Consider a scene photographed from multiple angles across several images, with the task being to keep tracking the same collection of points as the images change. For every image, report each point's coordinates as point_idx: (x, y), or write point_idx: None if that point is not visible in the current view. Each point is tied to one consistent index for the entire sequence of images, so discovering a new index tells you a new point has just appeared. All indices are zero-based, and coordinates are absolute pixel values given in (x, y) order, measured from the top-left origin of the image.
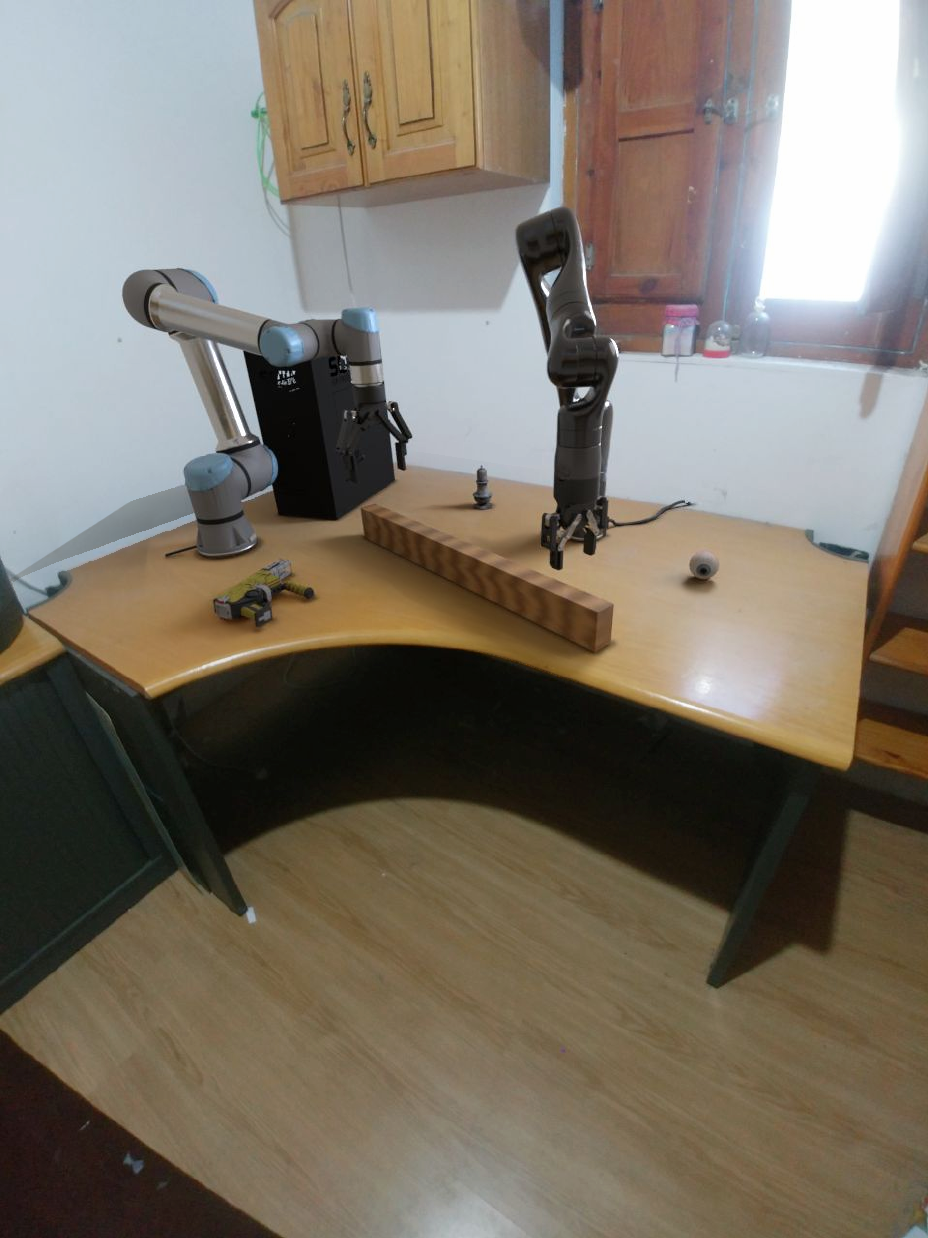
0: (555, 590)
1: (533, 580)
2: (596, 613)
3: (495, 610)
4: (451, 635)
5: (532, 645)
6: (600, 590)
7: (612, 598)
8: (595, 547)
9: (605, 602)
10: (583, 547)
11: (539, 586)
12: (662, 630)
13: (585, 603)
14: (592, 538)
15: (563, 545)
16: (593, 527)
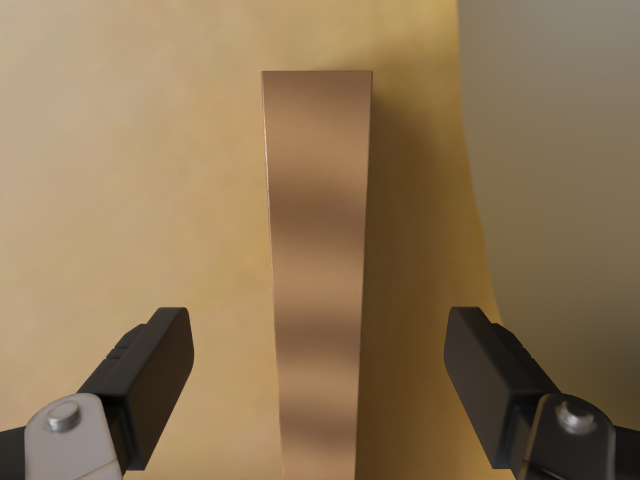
0: (342, 305)
1: (338, 396)
2: (371, 77)
3: (371, 393)
4: None
5: (439, 228)
6: (85, 294)
7: (88, 244)
8: (129, 336)
9: (279, 106)
10: (183, 385)
11: (358, 358)
12: (94, 7)
13: (346, 160)
14: (136, 390)
15: (543, 424)
16: (112, 475)
